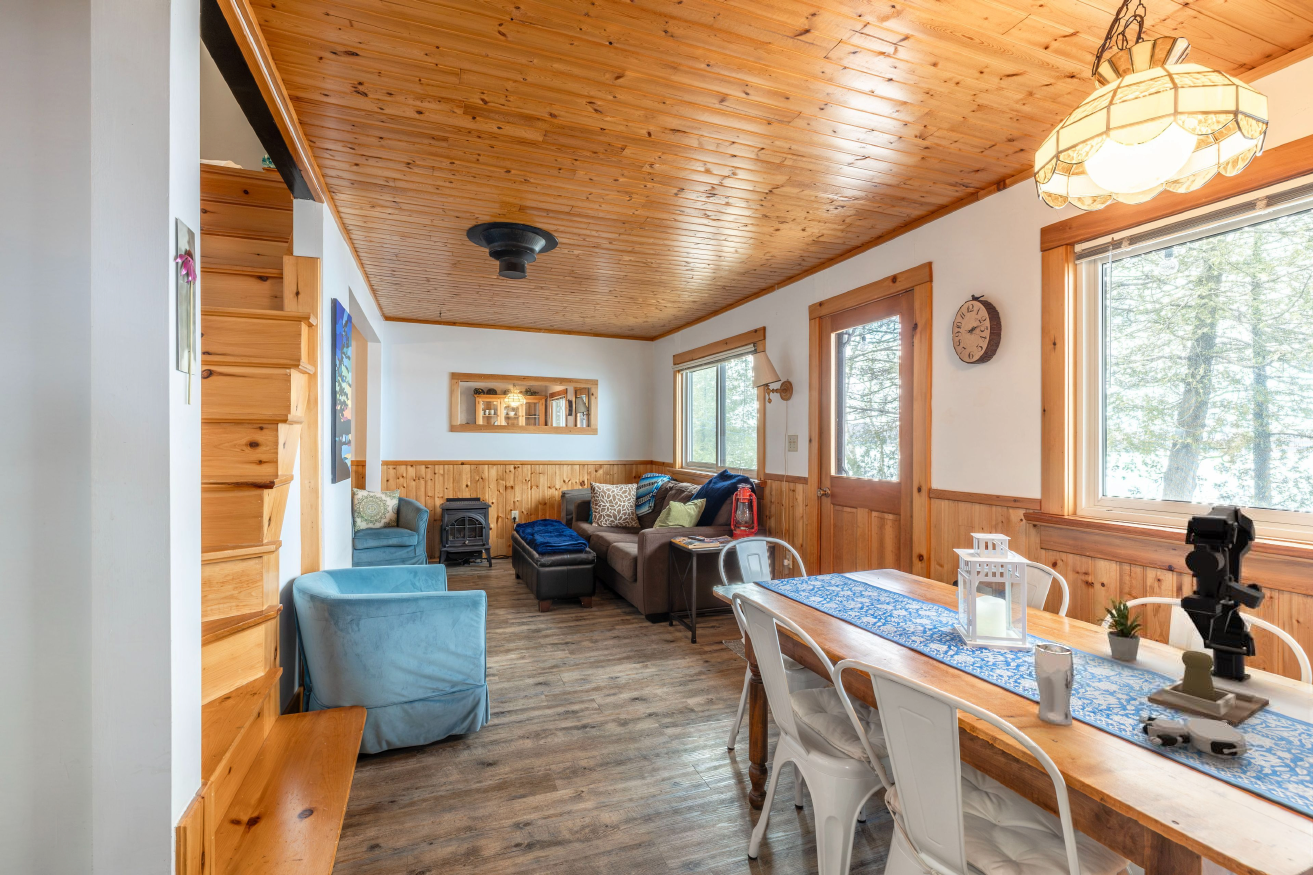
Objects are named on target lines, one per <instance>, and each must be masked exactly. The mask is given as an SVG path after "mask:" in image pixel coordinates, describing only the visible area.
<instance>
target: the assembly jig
mask: <svg viewBox="0 0 1313 875" xmlns="http://www.w3.org/2000/svg"><path fill="white" fill-rule="evenodd" d="M1183 679H1184V677H1183V678H1180V679H1178V680H1176V681H1174V682H1173V683H1169V685H1166V686H1165V687H1162V688H1161V689H1159V690H1157V691H1155V692H1153V693H1152V694H1150V695H1148V696H1147V702H1150V701H1151V702H1150V703H1154V702H1155V703H1154V704H1157V705H1161V706H1164V707H1167V708H1172V709H1175V710H1178V711H1182V712H1185V713H1188V714H1191V713H1192V714H1191V715H1195V716H1198V715H1199V717H1202V716H1203V717H1202V718H1204V719H1208V720H1217V721H1222V720H1226V721H1228V722H1227V724H1228V725H1229V724H1231V725H1230V726H1233V725H1234V726H1233V727H1236V726H1237V727H1239V726H1240V725H1241V724H1243V723H1245V722H1246V721H1247V720H1249V719H1250V718H1252V716H1254V715H1256V714H1257V713H1259V712H1260V711H1261V710H1264V708H1265V707H1267V706H1269V705H1270V699H1269V698H1264V697H1260V696H1256V694H1253V693H1250V692H1245V691H1241V690H1237V689H1234V688H1231V687H1230V688H1229V687H1225V686H1221V685H1217V684H1214V683H1213V687H1214V692H1215V697H1216V702H1213V701H1209V700H1205V699H1202V698H1198V697H1194V696H1191V695H1187V694H1183V693H1181V692H1182V685H1183ZM1248 718H1249V719H1248ZM1245 720H1246V721H1245ZM1242 722H1243V723H1242ZM1239 724H1240V725H1239ZM1238 725H1239V726H1238Z"/></svg>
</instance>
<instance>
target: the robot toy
mask: <svg viewBox="0 0 1313 875" xmlns="http://www.w3.org/2000/svg"><path fill="white" fill-rule="evenodd" d="M1137 721H1138V722H1139V724H1144V725H1143V726H1142V732H1143V733H1144V734H1145V735H1146V736H1148V739H1149V741H1150V742H1151V743H1152V744H1155V745H1160V746H1161V747H1169V746H1171V748H1172V747H1173V748H1175V747H1187V746H1188V745H1190V744H1191V745H1192V746H1194V747H1195V748H1196V749H1198V750H1199V751H1201V752H1203V753H1205V754H1209V755H1212V756H1214V757H1216V758H1218V757H1219V758H1218V759H1221V758H1222V760H1229V759H1231V758H1239V757H1243V756H1245V755H1246V754H1247V753H1248V752H1250V751H1253V749H1254V748H1252V747H1247V742H1246V738H1245V736H1244V734H1243V733H1242V732H1240V731H1239V730H1238V729H1236V728H1235V727H1234V726H1233V725H1229V724H1226V723H1227V722H1228V721H1226V720H1222V721H1217V720H1212V719H1208V718H1204V719H1203V718H1198V717H1197V718H1194V717H1193V718H1190V719H1188V720H1186V721H1184V723H1182V722H1180V721H1179V720H1174V719H1167V718H1166V719H1164V718H1157V717H1153V716H1148V717H1143V716H1141V717H1139V718H1137Z"/></svg>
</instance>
